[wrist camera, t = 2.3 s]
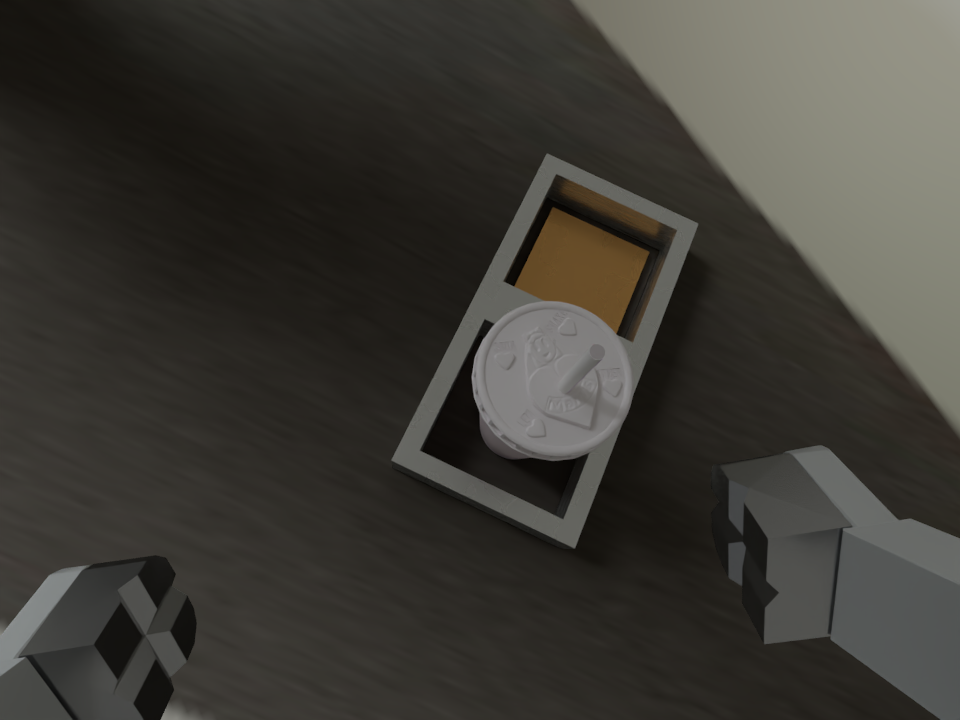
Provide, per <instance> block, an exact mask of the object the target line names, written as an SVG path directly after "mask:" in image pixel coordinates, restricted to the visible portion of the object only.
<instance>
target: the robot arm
mask: <svg viewBox="0 0 960 720" xmlns="http://www.w3.org/2000/svg"><path fill="white" fill-rule="evenodd" d="M711 489H712V491H713V492H714V494H715V496H716V497H717V499H718V501H719V503H718V504H717V505H716V507H715V508H714V509H713V511H712V512H711V518H712V533H713V537H714V542H715V547H716V550H717V553H718V556H719V558H720V561H721V564H722V566H723V568H724V570H725V572H726V574H727V576H728V578H730V579H731V580H733V581H735V582H736V583H738V584H740V585H741V586H742V604H743V606H744V608H745V610H746V612H747V614H748V615H749V617H750V619H751V621H752V623H753V625H754V627H755V628H756V630H757V632H758V634H759V636H760V638H761V640H762V641H763V643H764V644H770V643H778V642H786V641H795V640H803V639H811V638H820V637H828V636H831V640H832V641H833V642H835V643H836V644H837V645H839V646H840V647H842V648H843V649H844V650H846V651H847V652H848V653H850V654H851V655H853V656H854V657H855V658H857V659H858V660H859V661H861V662H862V663H863V664H865V665H866V666H868V667H869V668H870V669H872V670H873V671H874V672H876V673H877V674H879V675H880V676H881V677H883V678H884V679H885V680H887V681H888V682H890V683H891V684H892V685H894V686H895V687H896V688H898V689H899V690H901V691H902V692H903V693H905V694H906V695H907V696H909V697H910V698H912V699H913V700H914V701H916V702H917V703H918V704H920V705H921V706H923V707H924V708H925V709H927V710H928V711H929V712H931V713H932V714H934V715H935V716H936V717H938V718H939V719H940V720H960V538H957V537H955V536H952V535H950V534H947V533H945V532H942V531H940V530H937V529H935V528H932V527H930V526H928V525H925V524H923V523H920V522H918V521H915V520H913V519H905V520H898V519H897V518H896V517H895V516H894V515H893V514H892V513H891V512H890V511H889V510H888V509H887V508H886V507H885V506H884V505H883V504H882V503H881V502H880V501H879V500H878V499H877V498H876V497H875V496H874V495H873V494H872V493H871V492H870V490H869V489H868V488H867V487H866V486H865V485H864V484H863V483H862V482H861V481H860V480H859V479H858V478H857V477H856V476H855V475H854V474H853V473H852V472H851V471H850V470H849V469H848V468H847V467H846V466H845V465H844V464H843V463H842V462H841V461H840V460H839V459H838V458H837V457H836V456H835V455H834V454H833V453H832V452H831V451H830V450H829V449H828V448H826V447H824V446H821V445H818V446H813V447H808V448H802V449H797V450H792V451H786V452H784V453H781V454H775V455H769V456H763V457H757V458H751V459H745V460H739V461H733V462H727V463H721V464H715V465H713V468H712V472H711ZM175 575H176V574H175V572H174V570H173V569H172V567H171V565H170V564H169V562H168V560H167V559H166V558H164V557H160V556H156V555H155V556H147V557H140V558H133V559H126V560H119V561H112V562H104V563H97V564H93V565H86V566H79V567H72V568H66V569H61V570H59V571H57V572H55V573H53V574H51V575H49V576H48V578H47V579H46V580H45V581H44V582H43V584H42V585H41V586H40V587H39V589H38V590H37V591H36V592H35V594H34V595H33V596H32V597H31V599H30V600H29V601H28V602H27V604H26V605H25V606H24V607H23V609H22V610H21V611H20V612H19V614H18V615H17V616H16V617H15V619H14V620H13V621H12V622H11V624H10V625H9V626H8V627H7V629H6V630H5V631H4V632H3V634H2V635H1V636H0V720H160V719H161V717H162V715H163V713H164V711H165V709H166V706H167V704H168V702H169V700H170V698H171V695H172V693H173V691H174V688H173V684H172V681H171V678H170V677H171V676H172V675H173V674H174V673H175V672H176V671H177V670H178V669H179V668H180V667H181V666H182V665H184V664H185V663H186V662H187V660H188V658H189V655H190V653H191V650H192V648H193V646H194V643H195V634H196V625H197V622H196V617H195V612H194V608H193V606H192V604H191V602H190V600H189V598H188V596H187V595H185V594H184V593H182V592H180V591H179V590H177V589H175V588H174V587H172V584H173V581H174V578H175Z"/></svg>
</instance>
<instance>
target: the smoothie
mask: <svg viewBox="0 0 960 720" xmlns="http://www.w3.org/2000/svg"><path fill="white" fill-rule="evenodd" d="M472 386H473V394H474V399H475V402H476V404H477V407H478V409H479V412H480V432H481V435H482V438H483V440H484V442H485V444H486V445H487V446H488V447H489V449H490V450H492V451H493V452H494V453H495V454H497V455H499V456H501V457H503V458H507V459H513V460H517V459H524V458H537V459H543V460H549V461H558V460H568V459H575V458H577V457H580V456H582V455H585V454H587V453H590V452H592V451H594V450H595V449H596V448H598V447H599V446H600V445H601V444H603V443H604V442H605V441H607V440H608V439H609V438H610V437H611V436H612V435H613V434H614V433H615V432H616V431H617V430H618V429H619V427H620V426H621V425H622V423H623V422H624V420H625V418H626V416H627V414H628V412H629V409H630V406H631V402H632V398H633V391H634V378H633V370H632V366H631V362H630V359H629V356H628V354H627V351H626V349H625V347H624V345H623V344H622V342H621V340H620V339H619V337H618V336H617V335H616V333H615V332H614V331H613V330H612V329H611V328H610V327H609V326H608V325H607V324H606V323H605V322H604V321H603V320H601V319H600V318H599V317H597V316H596V315H594V314H593V313H591V312H589V311H588V310H585V309H583V308H581V307H578V306H576V305H573V304H569V303H564V302H557V301H541V302H534V303H529V304H526V305H523V306H521V307H518V308H516V309H514V310H512V311H510V312H509V313H507V314H506V315H504V316H503V317H502V318H501V319H499V320H498V321H497V322H496V323H495V324H494V325H493V327H492V328H491V329H490V330H489V332H488V333H487V335H486V337H485V338H484V339H483V340H482V342H481V345H480V347H479V349H478V351H477V353H476V356H475V358H474V364H473V371H472Z"/></svg>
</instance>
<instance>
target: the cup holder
mask: <svg viewBox="0 0 960 720" xmlns="http://www.w3.org/2000/svg"><path fill="white" fill-rule="evenodd" d="M546 198H548V199H550V200H552V201H554V202H556V203H559V204H561V205H563V206H565V207H567V208H569V209H571V210H574V211H576V212H578V213H580V214H582V215H584V216H587V217H589V218H591V219H593V220H595V221H597V222H599V223H602V224H604V225H606V226H608V227H610V228H612V229H614V230H617V231H619V232H621V233H623V234H625V235H627V236H629V237H632V238H634V239H636V240H638V241H640V242H642V243H644V244H647V245H649V246H651V247H653V248H655V249H657V250H659V254H658V257H657V259H656V262H655V264H654V267H653V269H652V272H651V274H650V277H649V279H648V282H647V284H646V287H645V289H644V292H643V294H642V297H641V299H640V302H639V304H638V307H637V309H636V312H635V314H634V317H633V319H632V322H631V324H630V327H629V329H628V332H627V334H626V337H625V339H624V338H622V337H620V336H618V335H617V336H618V337H619V339H620V340H621V342H622V344H623V345H624V347H625V349H626V351H627V354H628V356H629V359H630V362H631V366H632V370H633V378H634V391H633V394H634V392H635V389H636V387H637V384H638V381H639V379H640V376H641V373H642V371H643V368H644V366H645V363H646V360H647V358H648V355H649V352H650V350H651V347H652V345H653V342H654V339H655V337H656V334H657V331H658V329H659V326H660V324H661V321H662V318H663V316H664V313H665V310H666V308H667V305H668V302H669V300H670V297H671V295H672V292H673V289H674V287H675V284H676V281H677V279H678V276H679V274H680V271H681V268H682V266H683V263H684V260H685V258H686V255H687V253H688V250H689V247H690V245H691V242H692V239H693V237H694V234H695V232H696V229H697V226H698V223H696V222H694V221H692V220H689V219H687V218H685V217H683V216H681V215H679V214H676V213H674V212H672V211H670V210H668V209H666V208H664V207H661V206H659V205H657V204H655V203H653V202H651V201H648V200H646V199H644V198H642V197H640V196H638V195H636V194H633V193H631V192H629V191H627V190H625V189H623V188H620V187H618V186H616V185H614V184H612V183H610V182H608V181H605V180H603V179H601V178H599V177H597V176H595V175H592V174H590V173H588V172H586V171H584V170H582V169H579V168H577V167H575V166H573V165H571V164H569V163H567V162H564V161H562V160H560V159H558V158H556V157H554V156H551V155H549V154H546V156H545V158H544V160H543V162H542V164H541V166H540V168H539V170H538V172H537V174H536V176H535V178H534V180H533V182H532V184H531V186H530V188H529V190H528V192H527V194H526V196H525V198H524V200H523V202H522V204H521V206H520V208H519V210H518V211H517V213H516V215H515V217H514V219H513V221H512V223H511V225H510V227H509V229H508V231H507V233H506V235H505V237H504V239H503V241H502V243H501V245H500V247H499V249H498V251H497V253H496V255H495V257H494V259H493V261H492V263H491V265H490V267H489V269H488V271H487V273H486V275H485V277H484V278H483V280H482V282H481V284H480V286H479V288H478V290H477V292H476V294H475V296H474V298H473V300H472V302H471V304H470V306H469V308H468V310H467V312H466V314H465V316H464V318H463V320H462V322H461V324H460V326H459V328H458V330H457V332H456V334H455V336H454V338H453V340H452V342H451V344H450V346H449V347H448V349H447V351H446V353H445V355H444V357H443V359H442V361H441V363H440V365H439V367H438V369H437V371H436V373H435V375H434V377H433V379H432V381H431V383H430V385H429V387H428V389H427V391H426V393H425V395H424V397H423V399H422V401H421V403H420V405H419V407H418V409H417V411H416V413H415V415H414V416H413V418H412V420H411V422H410V424H409V426H408V428H407V430H406V432H405V434H404V436H403V438H402V440H401V442H400V444H399V446H398V448H397V450H396V452H395V454H394V456H393V458H392V460H391V463H392V468H394V469H396V470H398V471H400V472H402V473H404V474H406V475H409V476H411V477H413V478H415V479H417V480H419V481H421V482H423V483H425V484H427V485H429V486H431V487H434V488H436V489H438V490H440V491H442V492H444V493H446V494H448V495H450V496H452V497H454V498H456V499H459V500H461V501H463V502H465V503H467V504H469V505H471V506H473V507H475V508H477V509H479V510H481V511H484V512H486V513H488V514H490V515H492V516H494V517H496V518H498V519H500V520H502V521H504V522H506V523H509V524H511V525H513V526H515V527H517V528H519V529H521V530H523V531H525V532H527V533H529V534H531V535H533V536H536V537H538V538H540V539H542V540H544V541H546V542H548V543H550V544H552V545H554V546H556V547H558V548H561V549H575V547H576V544H577V542H578V539H579V536H580V534H581V531H582V528H583V526H584V523H585V521H586V518H587V515H588V513H589V510H590V507H591V505H592V502H593V500H594V497H595V494H596V492H597V489H598V486H599V484H600V481H601V479H602V476H603V473H604V471H605V468H606V465H607V463H608V460H609V458H610V455H611V452H612V450H613V447H614V444H615V442H616V439H617V436H618V434H619V431H620V429H621V426H622V425H621V426H620V427H619V429H618V430H617V431H616V432H615V433H614V434H613V435H612V436H611V437H610V438H609V439H608V440H607V441H605V442H604V443H603V444H601V445H600V446H599V447H598V448H596V449H595V450H594V451H592V452H590V453H587V454H585V455H582V456H580V457H577V459H576V462H575V464H574V467H573V469H572V472H571V474H570V477H569V479H568V482H567V484H566V487H565V489H564V492H563V494H562V497H561V499H560V502H559V504H558V507H557V509H556V512H555V514H554V515H553V514H551V513H549V512H547V511H545V510H543V509H541V508H538V507H536V506H534V505H532V504H530V503H528V502H526V501H524V500H522V499H520V498H518V497H515V496H513V495H511V494H509V493H507V492H505V491H503V490H501V489H499V488H497V487H495V486H493V485H490V484H488V483H486V482H484V481H482V480H480V479H478V478H476V477H474V476H472V475H470V474H467V473H465V472H463V471H461V470H459V469H457V468H455V467H453V466H451V465H449V464H447V463H444V462H442V461H440V460H438V459H436V458H434V457H432V456H430V455H428V454H426V453H424V452H422V450H423V448H424V446H425V444H426V442H427V440H428V438H429V436H430V434H431V432H432V430H433V428H434V426H435V424H436V422H437V419H438V417H439V415H440V413H441V411H442V409H443V407H444V405H445V403H446V401H447V399H448V397H449V395H450V393H451V391H452V389H453V387H454V385H455V383H456V381H457V379H458V377H459V375H460V373H461V371H462V369H463V367H464V365H465V363H466V361H467V359H468V356H469V354H470V352H471V350H472V348H473V346H474V344H475V342H476V340H477V338H478V336H482V337H484V338H485V337H486V335H487V333H488V332H489V330H490V329H491V328H492V327H493V325H494V324H495V323H496V322H497V321H498V320H499V319H501V318H502V317H503V316H504V315H506V314H507V313H509V312H510V311H512V310H514V309H516V308H518V307H521V306H523V305H526V304H529V303H534V302H541V301H557V302H564V303H569V304H573V305H576V306H578V307H581V308H583V309H585V310H588V311H589V312H591V313H593V314H594V315H596V316H597V317H599V318H600V319H601V320H603V321H604V322H605V323H606V324H607V325H608V326H609V327H610V328H611V329H612V330H613V331H614V332H615V333H617V331H618V328H619V326H620V324H621V321H622V319H623V316H624V314H625V311H626V309H627V306H628V304H629V301H630V299H631V296H632V294H633V292H634V289H635V287H636V284H637V282H638V279H639V277H640V274H641V272H642V269H643V267H644V264H645V262H646V260H647V257H648V255H649V252H648V251H646V250H644V249H642V248H640V247H638V246H636V245H633V244H631V243H629V242H627V241H625V240H623V239H621V238H618V237H616V236H614V235H612V234H610V233H608V232H606V231H603V230H601V229H599V228H597V227H595V226H593V225H591V224H588V223H586V222H584V221H582V220H580V219H578V218H576V217H573V216H571V215H569V214H567V213H565V212H563V211H561V210H558V209H556V208H554V207H553V208H552V210H551V212H550V214H549V216H548V218H547V220H546V222H545V224H544V226H543V228H542V230H541V233H540V235H539V237H538V239H537V241H536V243H535V245H534V247H533V249H532V251H531V253H530V255H529V257H528V259H527V261H526V264H525V266H524V268H523V270H522V272H521V274H520V276H519V278H518V280H517V282H516V284H515V286H512V285H510V284H507V283H505V281H506V279H507V277H508V275H509V273H510V271H511V269H512V267H513V265H514V263H515V261H516V259H517V257H518V255H519V253H520V251H521V249H522V247H523V245H524V243H525V241H526V239H527V237H528V235H529V232H530V230H531V228H532V226H533V224H534V222H535V220H536V218H537V216H538V214H539V212H540V210H541V208H542V206H543V204H544V202H545V200H546Z"/></svg>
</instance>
